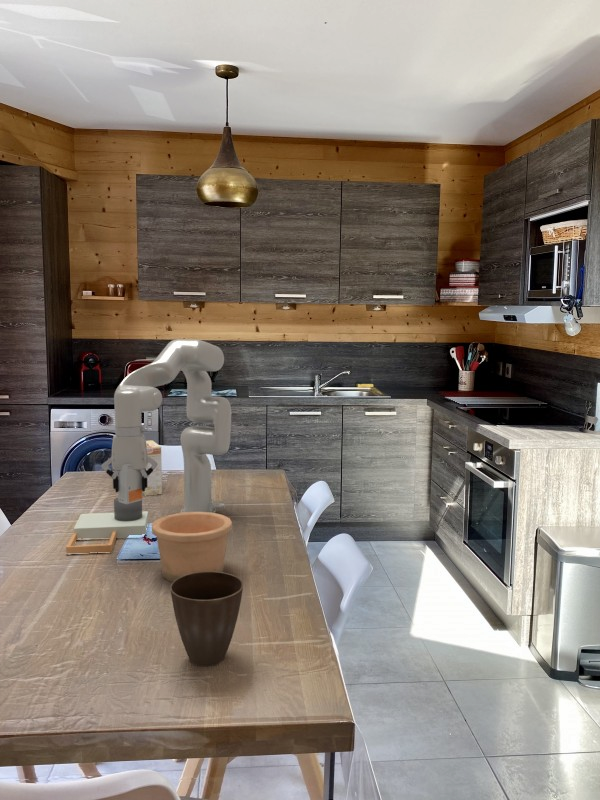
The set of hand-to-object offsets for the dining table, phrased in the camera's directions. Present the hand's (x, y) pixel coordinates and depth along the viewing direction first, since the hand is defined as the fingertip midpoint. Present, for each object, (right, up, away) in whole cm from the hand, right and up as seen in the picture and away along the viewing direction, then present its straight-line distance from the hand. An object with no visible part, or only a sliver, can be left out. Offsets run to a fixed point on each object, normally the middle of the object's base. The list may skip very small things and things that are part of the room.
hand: (130, 490), depth 203 cm
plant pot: (+31, -28, -59) cm, 72 cm away
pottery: (+20, -21, -13) cm, 32 cm away
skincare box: (0, -3, 0) cm, 4 cm away
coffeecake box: (-10, -10, +73) cm, 74 cm away
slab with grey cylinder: (-10, -17, +16) cm, 26 cm away
